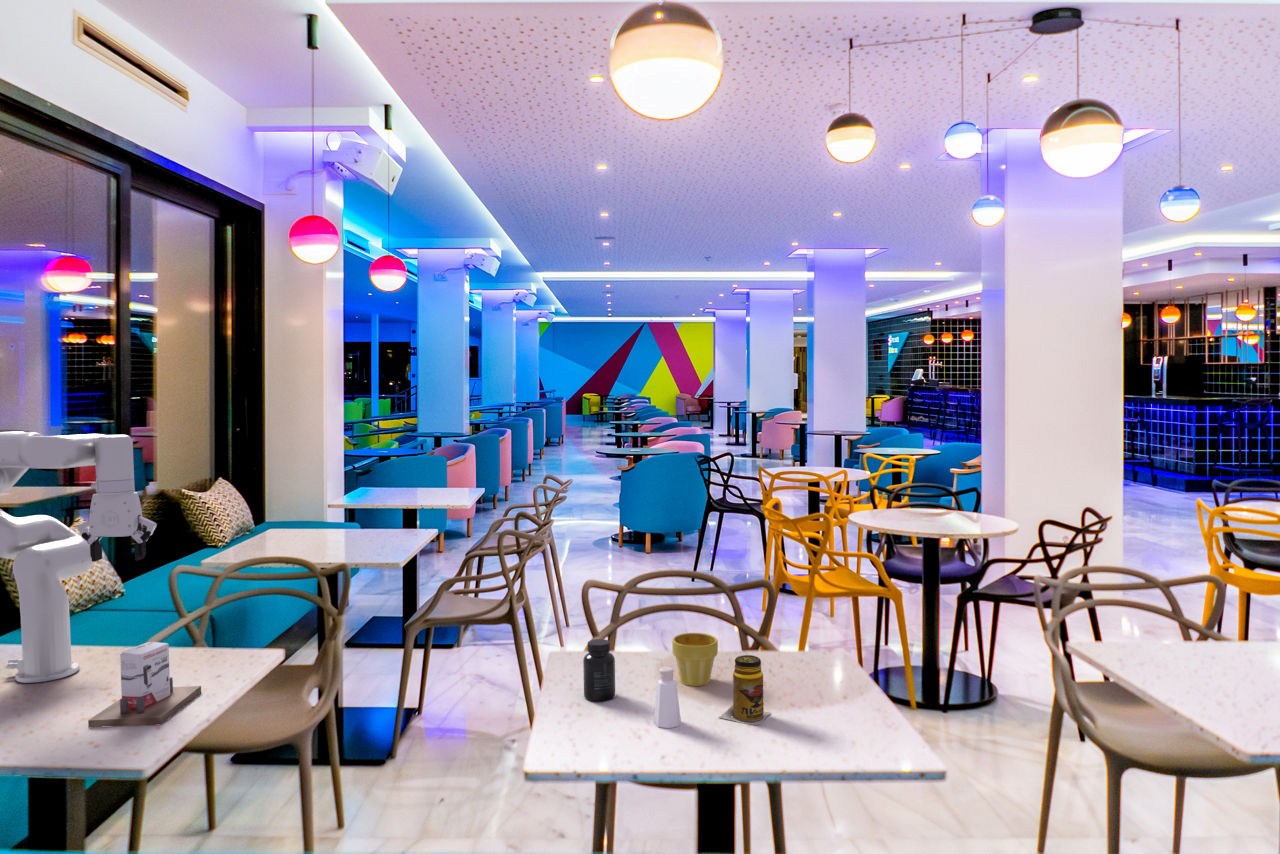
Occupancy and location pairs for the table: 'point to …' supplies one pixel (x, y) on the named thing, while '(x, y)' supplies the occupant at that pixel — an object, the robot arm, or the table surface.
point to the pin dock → (145, 709)
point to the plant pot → (695, 657)
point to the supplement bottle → (599, 671)
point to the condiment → (747, 692)
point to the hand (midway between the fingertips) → (118, 559)
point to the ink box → (145, 673)
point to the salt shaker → (667, 700)
